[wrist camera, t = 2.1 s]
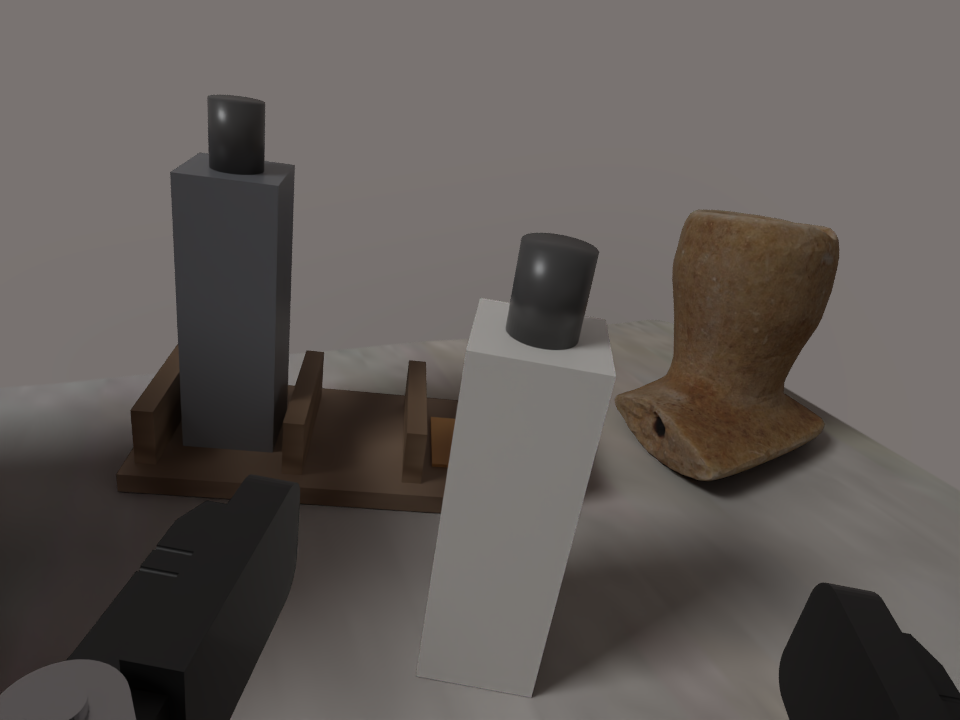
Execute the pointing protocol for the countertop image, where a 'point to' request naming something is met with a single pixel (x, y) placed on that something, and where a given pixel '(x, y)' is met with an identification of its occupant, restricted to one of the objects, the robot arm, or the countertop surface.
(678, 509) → the countertop surface
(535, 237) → the white square bottle
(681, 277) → the stone cup
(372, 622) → the countertop surface
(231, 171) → the grey square bottle
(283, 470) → the comb rack
